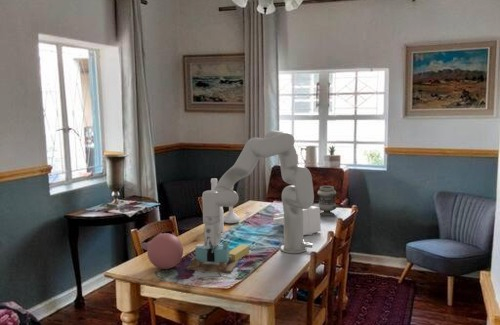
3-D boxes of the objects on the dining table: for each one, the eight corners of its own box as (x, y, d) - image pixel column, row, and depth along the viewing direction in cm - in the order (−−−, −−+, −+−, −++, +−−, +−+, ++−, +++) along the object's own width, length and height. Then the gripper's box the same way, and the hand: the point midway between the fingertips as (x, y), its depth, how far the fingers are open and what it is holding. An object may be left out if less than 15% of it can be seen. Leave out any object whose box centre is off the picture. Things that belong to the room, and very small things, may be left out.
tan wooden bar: (249, 253, 215) (249, 245, 215) (235, 263, 203) (235, 254, 202) (240, 252, 217) (240, 244, 217) (226, 261, 205) (226, 253, 204)
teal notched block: (229, 259, 199) (228, 241, 198) (226, 263, 195) (226, 244, 194) (198, 258, 202) (198, 239, 200) (195, 261, 197) (195, 243, 196)
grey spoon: (244, 221, 272) (243, 180, 268) (233, 225, 262) (232, 183, 259) (226, 218, 279) (225, 179, 275) (215, 223, 269) (214, 181, 266)
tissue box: (295, 224, 272) (328, 230, 249) (262, 231, 257) (294, 239, 235) (294, 199, 271) (327, 204, 248) (261, 205, 256) (293, 211, 234)
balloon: (153, 258, 209) (151, 226, 207) (190, 264, 202) (189, 231, 199) (132, 270, 196) (130, 235, 193) (171, 276, 188) (169, 241, 185)
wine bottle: (216, 234, 245) (214, 180, 241) (203, 231, 251) (201, 179, 247) (227, 230, 253) (226, 178, 249) (214, 228, 259) (213, 176, 254)
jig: (238, 263, 202) (237, 255, 202) (231, 273, 190) (230, 265, 190) (195, 260, 206) (195, 252, 206) (186, 269, 195) (186, 262, 194)
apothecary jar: (317, 212, 292) (317, 184, 289) (336, 212, 290) (336, 185, 288) (317, 216, 280) (317, 188, 278) (337, 217, 278) (337, 188, 276)
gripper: (214, 224, 187) (215, 266, 189) (225, 214, 203) (226, 253, 205) (196, 223, 188) (198, 265, 191) (209, 213, 205) (210, 252, 207)
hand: (212, 258), depth 198 cm, fingers closed on teal notched block, 4 cm apart
